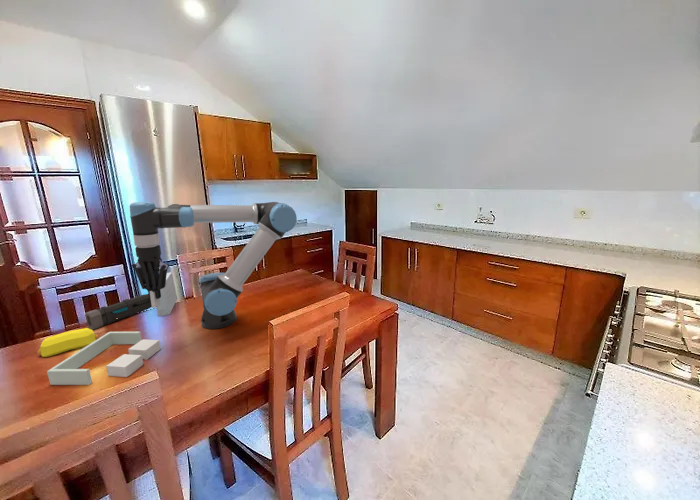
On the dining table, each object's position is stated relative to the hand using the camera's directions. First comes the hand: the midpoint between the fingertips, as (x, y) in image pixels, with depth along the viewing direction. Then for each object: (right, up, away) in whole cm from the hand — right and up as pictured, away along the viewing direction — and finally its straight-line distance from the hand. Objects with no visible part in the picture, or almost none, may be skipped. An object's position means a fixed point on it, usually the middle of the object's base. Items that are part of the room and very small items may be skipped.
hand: (156, 306), depth 113 cm
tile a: (-5, -19, +1) cm, 19 cm away
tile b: (-5, -21, -9) cm, 23 cm away
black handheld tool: (-35, -11, +33) cm, 50 cm away
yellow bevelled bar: (-38, -18, +5) cm, 42 cm away
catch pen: (-17, -20, -4) cm, 26 cm away
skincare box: (-21, -9, +42) cm, 48 cm away
